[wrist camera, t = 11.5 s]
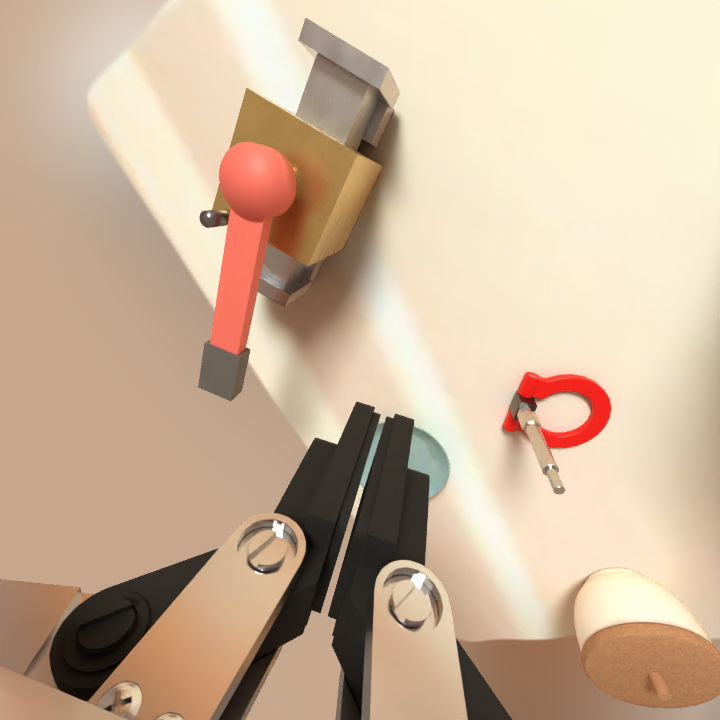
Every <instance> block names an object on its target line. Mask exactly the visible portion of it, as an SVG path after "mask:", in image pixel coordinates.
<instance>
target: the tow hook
mask: <svg viewBox="0 0 720 720" xmlns="http://www.w3.org/2000/svg"><path fill="white" fill-rule="evenodd" d="M561 391H575V392H579V393H581V394H583V395H585V396H586V397H588V398H589V400H590V401H591V406H592V409H591V414H590V416H589V418H588V420H587V421H586V422H585V423H584V424H583V425H581V426H580V427H579V428H577V429H575V430H572V431H569V432H564V433H555V432H550V431H547V430H545V429H543V428H542V427H541V424H540V422H539V420H538V418H537V416H536V413H535V410H536V408H537V405H536V403H535V401H534V399H533V397H536V398H540V399H544V398H546V397H547V396H549V395H551V394H553V393H556V392H561ZM610 413H611V404H610V399H609V397H608V396H607V394H606V392H605V391H604V390H603V388H602V387H600V386H599V385H598V384H597V383H596V382H595V381H593V380H591V379H588V378H586V377H584V376H578V375H573V374H569V375H557V376H553V377H549V378H547V379H546V378H542V377H540V376H538V375H537V374H535V373H532V372H526V374H525V376H524V378H523V381H522V383H521V385H520V388H519V390H518V391H517V392H516V394H515V396H514V399H513V401H512V403H511V405H510V410H509V413H508V415H507V417H506V419H505V422H504V424H503V427H504V429H506V430H507V431H510V432H515V431H516V430H520V431H524V432H525V433H526V435H527V436H528V437H529V440H530V442H531V445H532V447H533V450H534V452H535V454H536V457H537V459H538V462H539V464H540V467H541V469H542V472H543V474H544V475H546V476H548V479H549V481H550V484H551V486H552V488H553V491H554V493H556V494H563V493H564V492H565V488H564V486H563V484H562V482H561V480H560V477H559V475H558V472H559V468H558V466H557V464H556V462H555V460H554V458H553V456H552V453H551V451H550V449H549V447H554V448H566V447H572V446H577V445H580V444H582V443H585V442H587V441H589V440H591V439H592V438H594V437H595V436H597V435H598V434H599V433H600V432H601V431H602V430H603V429H604V427H605V426H606V424H607V422H608V420H609V418H610ZM548 446H549V447H548Z"/></svg>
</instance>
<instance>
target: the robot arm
mask: <svg viewBox="0 0 720 720" xmlns="http://www.w3.org/2000/svg"><path fill="white" fill-rule="evenodd" d="M374 409H375V407H372V406H369V405H366V404H363V403H360V402H356V404H355V406H354V408H353V411H352V413H351V415H350V417H349V420H348V422H347V424H346V426H345V429H344V431H343V433H342V436H341V438H340V440H339V442H338V445H337V444H334V443H331V442H328V441H325V440H322V439H319V438H315V439H314V441H313V442H312V444H311V446H310V448H309V449H308V451H307V453H306V455H305V457H304V459H303V460H302V462H301V464H300V466H299V468H298V470H297V471H296V473H295V475H294V477H293V479H292V481H291V482H290V484H289V486H288V488H287V490H286V492H285V493H284V495H283V497H282V499H281V501H280V503H279V504H278V506H277V508H276V510H275V512H274V513H263V514H258V515H255V516H253V517H251V518H249V519H246V520H245V521H244V522H243V523H241V524H240V525H239V526H238V527H237V528H236V529H235V530H234V532H233V533H232V534H231V535H230V536H229V537H228V539H227V540H226V541H225V542H224V543H223V544H222V546H221V547H220V548H218V549H215V550H213V551H210V552H207V553H204V554H201V555H199V556H196V557H193V558H190V559H187V560H185V561H182V562H179V563H176V564H174V565H171V566H168V567H165V568H162V569H160V570H157V571H154V572H151V573H148V574H146V575H143V576H140V577H137V578H134V579H132V580H129V581H126V582H123V583H120V584H118V585H115V586H112V587H109V588H107V589H104V590H102V591H100V592H98V593H96V594H87V593H81V589H80V587H71V586H61V585H52V584H41V583H32V582H22V581H12V580H2V579H0V720H245V719H246V717H247V716H248V714H249V712H250V710H251V707H252V706H253V704H254V702H255V700H256V698H257V696H258V694H259V692H260V690H261V688H262V686H263V684H264V683H265V680H266V679H267V677H268V675H269V673H270V671H271V669H272V667H273V665H274V663H275V661H276V659H277V657H278V655H279V653H280V651H281V649H282V646H283V645H284V644H285V643H287V642H289V641H291V640H293V639H294V638H296V637H298V636H300V635H301V634H303V632H304V628H305V626H306V625H307V623H308V620H309V616H310V613H311V610H313V611H316V612H318V613H321V610H322V606H323V603H324V600H325V596H326V593H327V590H328V587H329V583H330V580H331V577H332V574H333V570H334V567H335V564H336V560H337V557H338V554H339V551H340V547H341V544H342V540H343V537H344V534H345V531H346V527H347V524H348V521H349V518H350V514H351V511H352V508H353V505H354V501H355V498H356V495H357V491H358V488H359V485H360V481H361V478H362V475H363V471H364V468H365V465H366V462H367V458H368V455H369V452H370V448H371V445H372V442H373V438H374V435H375V432H376V428H377V425H378V422H379V418H380V415H381V414H377V413H374ZM413 426H414V419H410V418H407V417H404V416H401V415H398V414H395V416H394V419H393V418H390V417H386V420H385V423H384V426H383V429H382V433H381V436H380V439H379V442H378V445H377V449H376V452H375V455H374V458H373V461H372V464H371V468H370V471H369V474H368V477H367V480H366V484H365V487H364V490H363V493H362V497H361V500H360V504H359V507H358V511H357V514H356V518H355V522H354V525H353V529H352V532H351V536H350V539H349V543H348V547H347V550H346V554H345V557H344V561H343V564H342V568H341V571H340V575H339V578H338V582H337V585H336V589H335V592H334V596H333V599H332V603H331V606H330V610H329V614H328V616H329V617H331V618H334V619H336V623H335V627H334V631H333V634H332V635H333V636H334V638H333V643H332V647H333V649H334V651H335V653H336V656H337V658H338V660H339V662H340V664H341V667H342V668H341V673H340V679H339V689H338V699H337V709H336V720H512V719H511V717H510V716H509V715H508V713H507V712H506V710H505V709H504V707H503V706H502V704H501V703H500V701H499V700H498V699H497V697H496V696H495V694H494V693H493V691H492V690H491V688H490V687H489V685H488V684H487V683H486V681H485V680H484V678H483V677H482V675H481V674H480V672H479V671H478V669H477V668H476V667H475V665H474V664H473V662H472V661H471V659H470V658H469V656H468V655H467V654H466V652H465V651H464V649H463V648H462V646H461V645H460V643H459V642H458V640H457V639H456V637H455V630H454V623H453V617H452V610H451V604H450V601H449V597H448V594H447V592H446V590H445V588H444V586H443V585H442V583H441V581H440V580H439V579H438V578H437V577H436V576H435V575H434V573H433V572H432V571H430V570H429V569H427V568H426V567H425V552H426V535H427V518H428V501H429V484H430V477H429V475H428V474H425V473H422V472H419V471H416V470H413V469H410V468H408V461H409V454H410V447H411V440H412V433H413Z"/></svg>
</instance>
